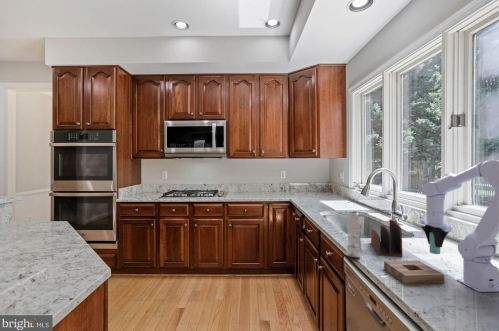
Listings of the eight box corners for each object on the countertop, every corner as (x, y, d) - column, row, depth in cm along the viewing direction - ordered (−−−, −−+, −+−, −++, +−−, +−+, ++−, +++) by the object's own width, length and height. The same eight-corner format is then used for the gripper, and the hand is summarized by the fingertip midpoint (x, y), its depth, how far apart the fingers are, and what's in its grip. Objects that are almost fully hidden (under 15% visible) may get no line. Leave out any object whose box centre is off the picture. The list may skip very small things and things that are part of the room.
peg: (442, 254, 109) (442, 234, 109) (433, 254, 109) (433, 234, 109) (436, 251, 113) (436, 231, 113) (427, 251, 112) (427, 231, 112)
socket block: (444, 283, 97) (444, 274, 97) (405, 284, 96) (405, 275, 96) (417, 267, 111) (417, 260, 111) (383, 268, 110) (383, 261, 110)
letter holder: (391, 244, 142) (391, 217, 142) (402, 257, 123) (402, 226, 123) (370, 243, 145) (370, 216, 145) (378, 255, 126) (378, 224, 126)
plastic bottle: (358, 254, 127) (357, 211, 127) (364, 259, 120) (364, 213, 120) (344, 254, 127) (344, 211, 127) (350, 259, 120) (350, 214, 120)
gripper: (413, 208, 118) (413, 240, 118) (438, 215, 103) (438, 251, 103) (429, 208, 118) (429, 240, 118) (456, 215, 104) (456, 251, 104)
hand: (434, 245), depth 111 cm, fingers closed on peg, 4 cm apart
